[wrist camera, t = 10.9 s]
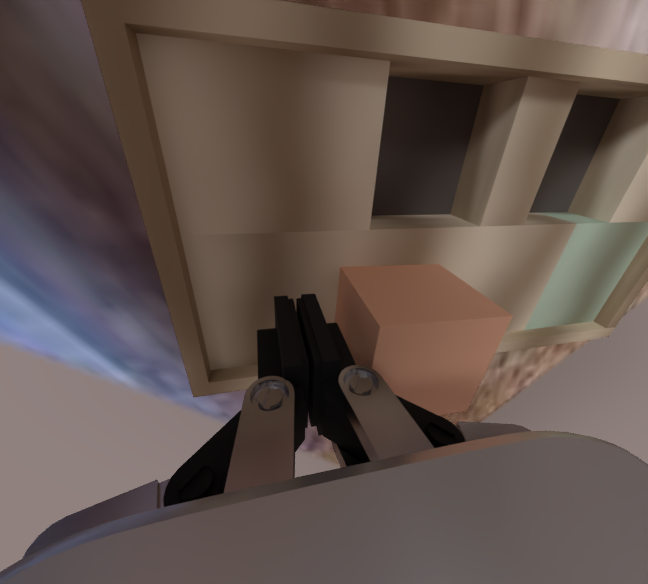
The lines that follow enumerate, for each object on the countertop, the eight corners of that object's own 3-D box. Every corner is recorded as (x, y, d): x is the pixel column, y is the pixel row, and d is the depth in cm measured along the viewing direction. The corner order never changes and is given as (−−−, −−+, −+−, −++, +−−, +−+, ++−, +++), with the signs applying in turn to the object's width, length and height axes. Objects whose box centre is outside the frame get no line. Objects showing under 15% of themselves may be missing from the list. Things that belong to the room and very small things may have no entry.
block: (331, 352, 15) (358, 429, 11) (340, 266, 12) (380, 327, 8) (415, 344, 16) (466, 410, 12) (438, 263, 13) (513, 315, 10)
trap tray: (203, 350, 16) (193, 397, 13) (128, 20, 9) (72, -30, 6) (561, 310, 21) (608, 336, 19) (685, 86, 14) (789, 75, 12)
